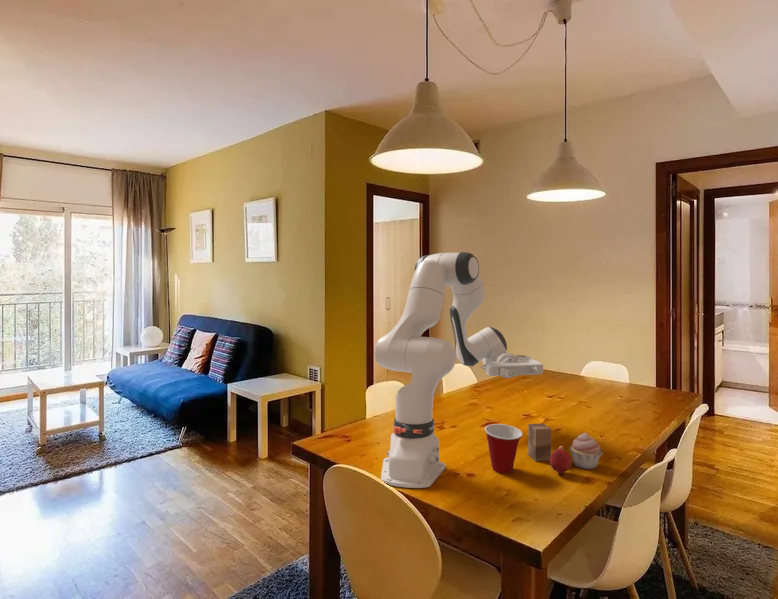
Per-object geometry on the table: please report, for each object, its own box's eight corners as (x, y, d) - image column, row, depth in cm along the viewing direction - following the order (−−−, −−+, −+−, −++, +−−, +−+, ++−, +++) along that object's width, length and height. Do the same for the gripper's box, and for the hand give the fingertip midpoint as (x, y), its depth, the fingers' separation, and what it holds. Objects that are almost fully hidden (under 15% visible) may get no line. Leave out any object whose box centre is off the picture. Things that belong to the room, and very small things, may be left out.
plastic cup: (505, 481, 129) (505, 438, 129) (476, 468, 138) (476, 428, 138) (530, 471, 136) (530, 430, 135) (500, 459, 145) (501, 421, 144)
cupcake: (608, 472, 135) (608, 438, 135) (575, 471, 135) (576, 438, 135) (594, 459, 145) (595, 427, 144) (564, 459, 145) (564, 427, 144)
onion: (563, 479, 130) (563, 451, 130) (545, 472, 135) (545, 445, 134) (575, 474, 134) (575, 447, 133) (557, 468, 138) (558, 441, 138)
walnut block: (550, 460, 144) (551, 428, 143) (535, 461, 143) (535, 429, 143) (542, 454, 149) (543, 423, 148) (528, 455, 148) (528, 424, 148)
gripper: (479, 357, 169) (493, 364, 155) (532, 355, 172) (551, 362, 158) (479, 374, 169) (493, 383, 155) (532, 372, 172) (551, 381, 159)
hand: (523, 373), depth 157 cm, fingers open, 8 cm apart
